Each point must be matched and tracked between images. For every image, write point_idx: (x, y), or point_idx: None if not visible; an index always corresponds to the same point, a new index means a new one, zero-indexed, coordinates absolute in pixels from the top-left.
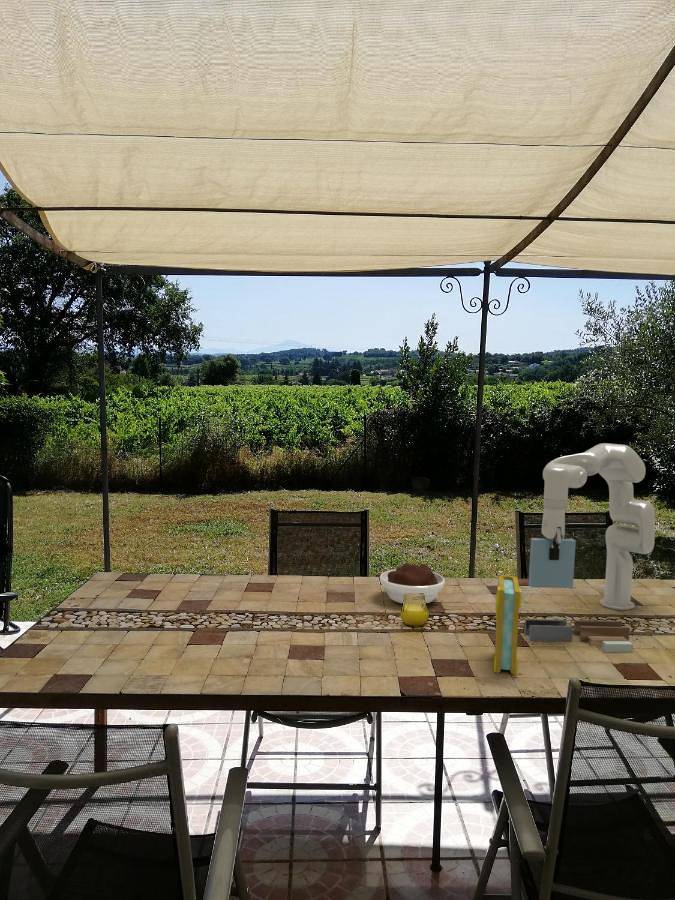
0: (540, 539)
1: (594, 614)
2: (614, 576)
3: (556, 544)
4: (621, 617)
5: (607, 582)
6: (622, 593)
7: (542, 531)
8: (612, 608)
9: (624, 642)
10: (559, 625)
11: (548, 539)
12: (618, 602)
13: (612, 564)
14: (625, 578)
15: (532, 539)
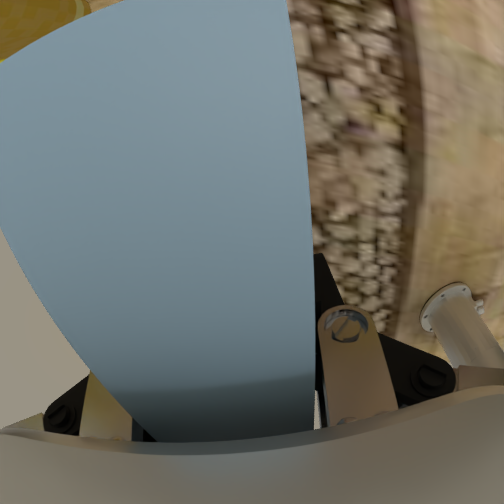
0: (114, 301)
1: (409, 264)
2: (464, 345)
3: (41, 415)
4: (387, 307)
5: (469, 323)
6: (439, 333)
7: (476, 461)
8: (430, 299)
9: None
10: None
11: (206, 420)
12: (434, 315)
13: (480, 361)
14: (452, 359)
15: (53, 34)
